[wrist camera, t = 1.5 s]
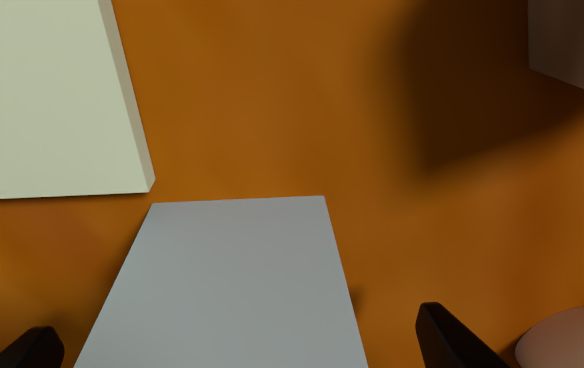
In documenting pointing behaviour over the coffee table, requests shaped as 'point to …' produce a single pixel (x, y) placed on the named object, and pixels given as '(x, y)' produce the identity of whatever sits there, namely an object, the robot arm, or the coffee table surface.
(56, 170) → the felt mat
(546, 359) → the ivory rounded cylinder
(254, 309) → the slate-blue block
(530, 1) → the walnut cube
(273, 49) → the coffee table surface
